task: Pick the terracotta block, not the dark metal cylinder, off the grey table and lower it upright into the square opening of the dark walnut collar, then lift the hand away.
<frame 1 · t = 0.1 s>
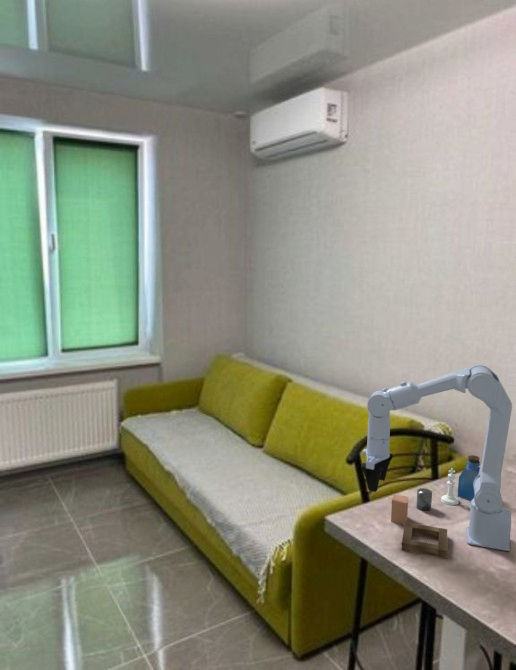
hand: (376, 485, 139), 10 cm above the table, tool pointing down, fingers open, 7 cm apart
chess piece: (449, 501, 152), on the table
terracotta block: (399, 519, 141), on the table
perfume bottle: (471, 496, 155), on the table
metal cylinder: (423, 508, 148), on the table
walnut collar: (424, 543, 130), on the table
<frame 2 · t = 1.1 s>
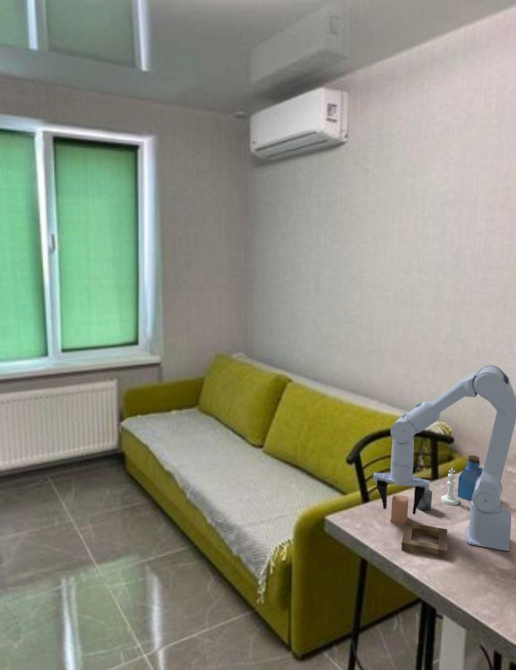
hand: (399, 509, 141), 3 cm above the table, tool pointing down, fingers open, 7 cm apart
nothing on the table moved.
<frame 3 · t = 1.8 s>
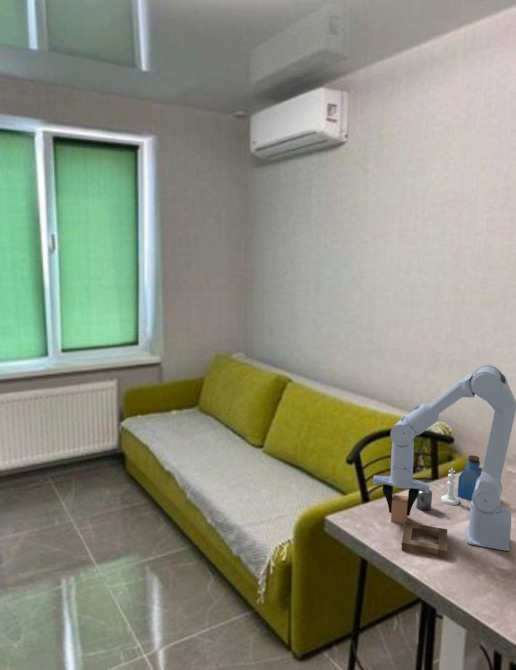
hand: (399, 512, 141), 2 cm above the table, tool pointing down, fingers closed on terracotta block, 4 cm apart
terracotta block: (399, 519, 141), on the table, touching gripper
everything else where it was.
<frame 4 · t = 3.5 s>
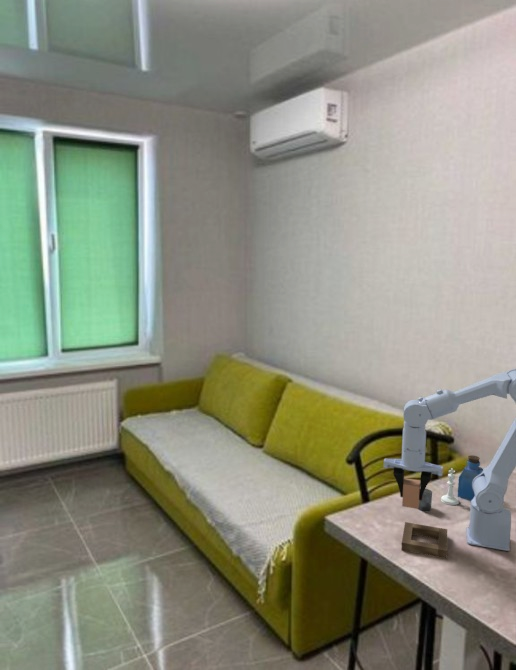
hand: (411, 497, 135), 9 cm above the table, tool pointing down, fingers closed on terracotta block, 4 cm apart
terracotta block: (410, 504, 135), point 7 cm above the table, touching gripper
everything else where it was.
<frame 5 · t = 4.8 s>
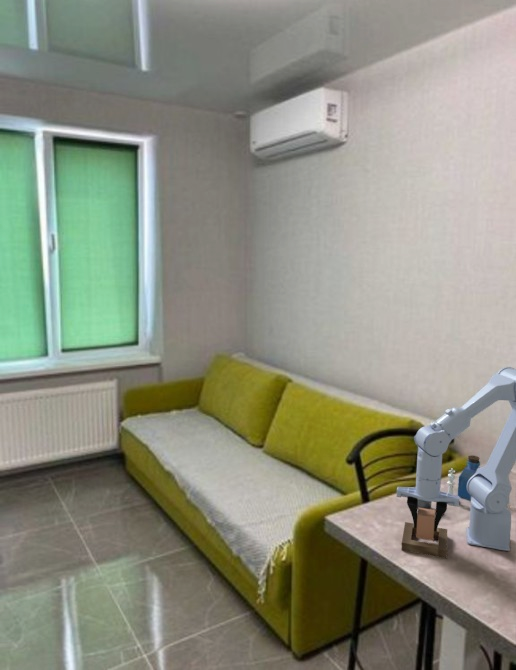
hand: (425, 527, 129), 4 cm above the table, tool pointing down, fingers closed on terracotta block, 4 cm apart
terracotta block: (424, 534, 129), point 2 cm above the table, touching gripper
everything else where it was.
when the fingers open (3 cm above the table, at t = 5.5 s): terracotta block stays where it is, resting in walnut collar.
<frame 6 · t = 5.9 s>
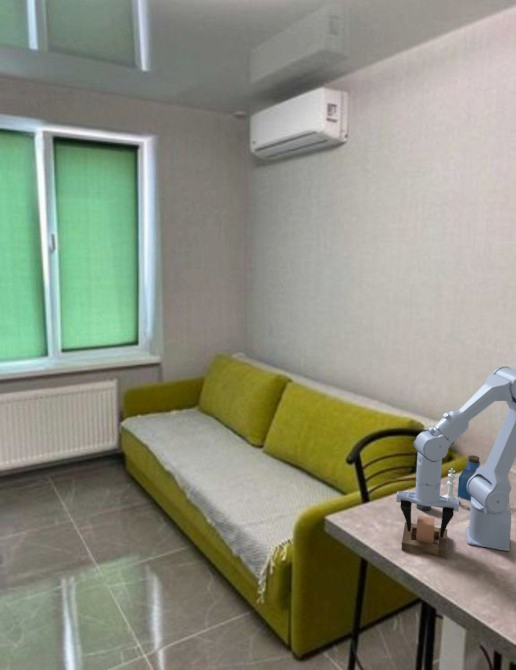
hand: (425, 532, 129), 3 cm above the table, tool pointing down, fingers open, 7 cm apart
terracotta block: (424, 543, 130), resting in walnut collar
everything else where it was.
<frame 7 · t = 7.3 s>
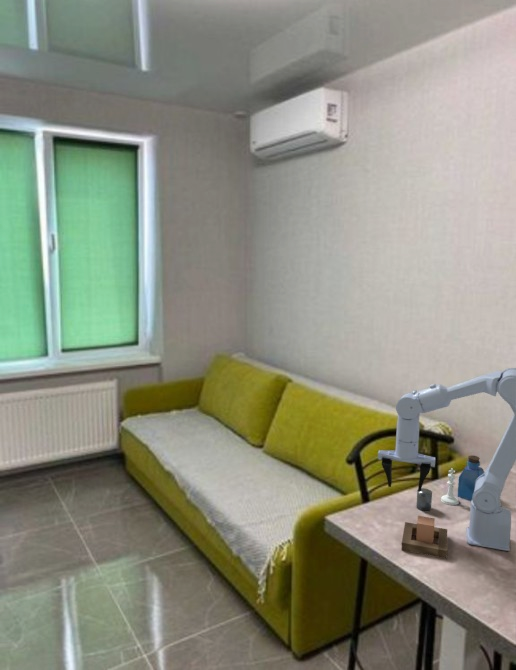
hand: (404, 487, 139), 10 cm above the table, tool pointing down, fingers open, 7 cm apart
nothing on the table moved.
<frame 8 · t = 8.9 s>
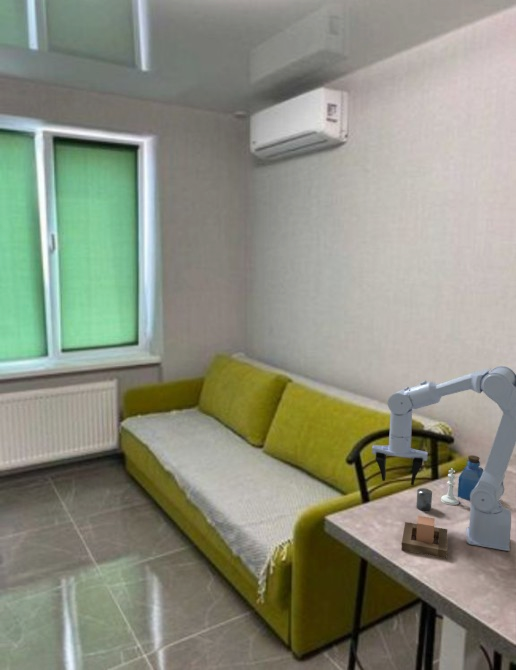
hand: (398, 481, 143), 9 cm above the table, tool pointing down, fingers open, 7 cm apart
nothing on the table moved.
at the end: terracotta block 0.1 cm off-centre on the walnut collar, point 0.0 cm above the walnut collar's base; terracotta block tilted 0°; the gripper is holding nothing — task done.
